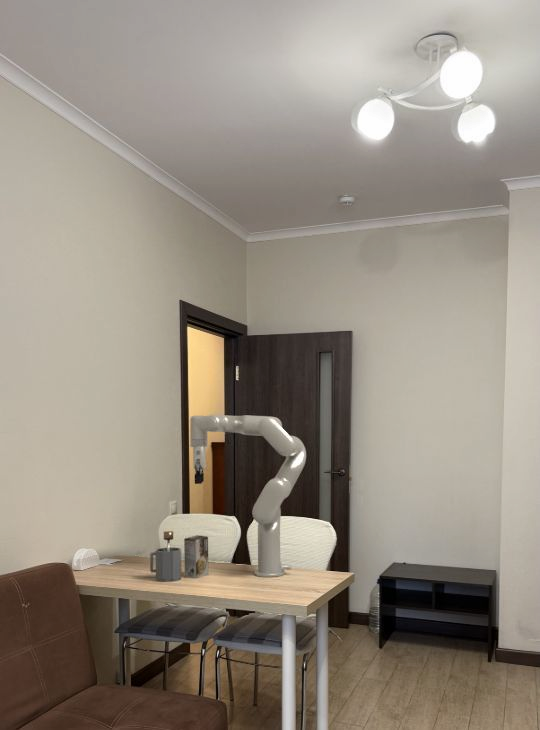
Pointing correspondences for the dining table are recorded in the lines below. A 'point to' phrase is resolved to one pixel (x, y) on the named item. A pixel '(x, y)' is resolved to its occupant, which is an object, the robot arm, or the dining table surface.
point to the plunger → (168, 538)
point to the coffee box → (196, 556)
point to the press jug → (167, 564)
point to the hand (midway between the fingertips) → (199, 482)
